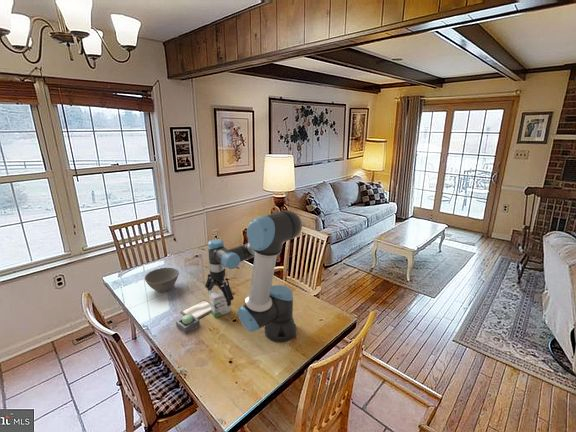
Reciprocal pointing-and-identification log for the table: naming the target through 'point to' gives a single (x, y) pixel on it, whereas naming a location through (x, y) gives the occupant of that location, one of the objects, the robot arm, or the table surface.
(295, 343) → the table surface
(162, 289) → the bowl
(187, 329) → the button housing
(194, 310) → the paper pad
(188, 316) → the button
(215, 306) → the ink box
